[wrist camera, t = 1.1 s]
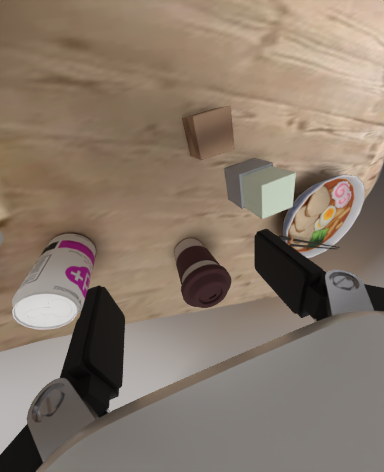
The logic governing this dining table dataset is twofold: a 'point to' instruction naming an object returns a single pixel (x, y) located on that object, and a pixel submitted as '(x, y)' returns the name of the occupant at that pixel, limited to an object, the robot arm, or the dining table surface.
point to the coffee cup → (200, 275)
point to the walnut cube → (209, 132)
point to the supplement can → (56, 283)
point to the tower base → (235, 181)
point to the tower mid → (268, 191)
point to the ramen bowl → (323, 214)
